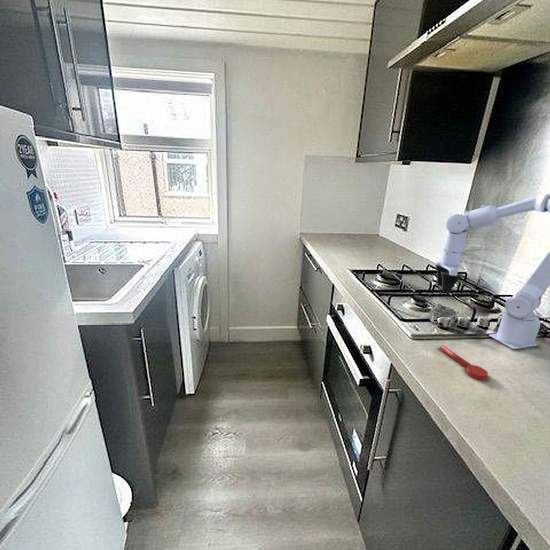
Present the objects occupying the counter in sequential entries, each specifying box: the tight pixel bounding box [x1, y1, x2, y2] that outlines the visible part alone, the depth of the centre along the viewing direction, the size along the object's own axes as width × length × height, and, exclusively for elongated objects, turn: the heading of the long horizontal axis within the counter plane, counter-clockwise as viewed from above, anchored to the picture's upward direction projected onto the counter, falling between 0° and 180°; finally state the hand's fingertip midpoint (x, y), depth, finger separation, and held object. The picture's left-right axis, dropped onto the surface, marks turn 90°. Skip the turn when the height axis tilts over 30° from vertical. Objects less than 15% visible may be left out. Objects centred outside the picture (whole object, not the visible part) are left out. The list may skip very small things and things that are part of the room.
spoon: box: [439, 344, 489, 381], centre depth 79 cm, size 4×14×1 cm, turn 16°
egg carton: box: [429, 303, 460, 328], centre depth 102 cm, size 11×8×4 cm
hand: (443, 289), depth 104 cm, fingers open, 7 cm apart
